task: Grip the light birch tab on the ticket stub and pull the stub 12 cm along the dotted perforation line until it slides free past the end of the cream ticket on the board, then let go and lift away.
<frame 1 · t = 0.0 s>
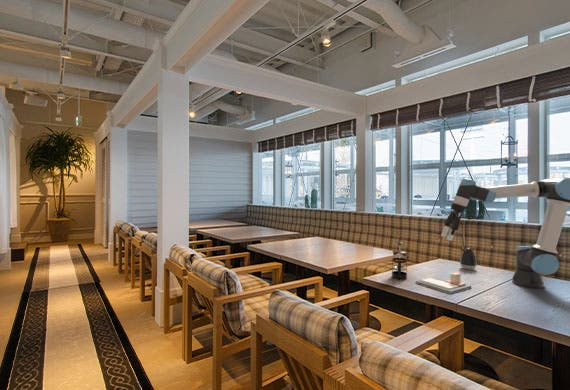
hand: (446, 238, 191), 28 cm above the table, tool tilted 20°, fingers open, 13 cm apart
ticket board: (442, 285, 190), on the table
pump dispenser: (467, 269, 228), on the table
french press: (399, 278, 206), on the table
stub: (455, 278, 189), point 5 cm above the table, slide at 0.0 cm
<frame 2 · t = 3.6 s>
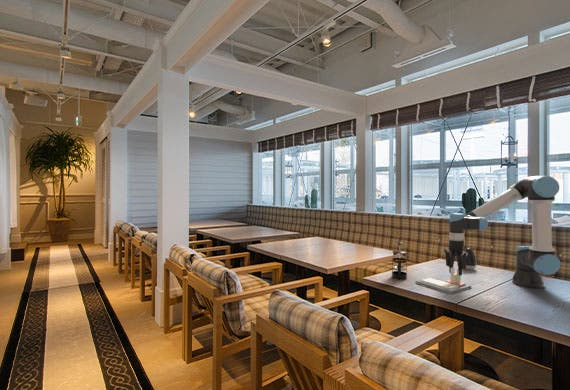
hand: (455, 279, 189), 4 cm above the table, tool pointing down, fingers closed on stub, 3 cm apart
stub: (455, 278, 189), point 5 cm above the table, slide at 0.0 cm, touching gripper
everything else where it was.
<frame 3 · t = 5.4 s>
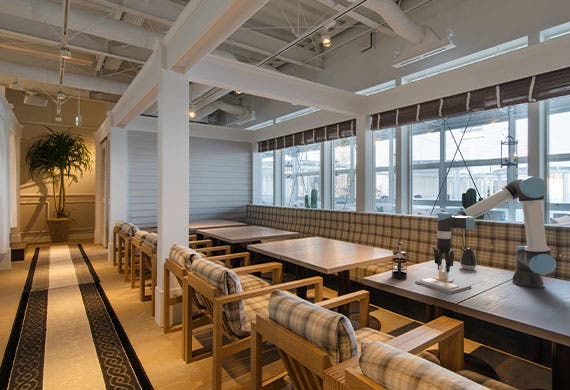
hand: (443, 276, 195), 4 cm above the table, tool pointing down, fingers closed on stub, 3 cm apart
stub: (443, 275, 195), point 5 cm above the table, slide at 7.5 cm, touching gripper
everything else where it was.
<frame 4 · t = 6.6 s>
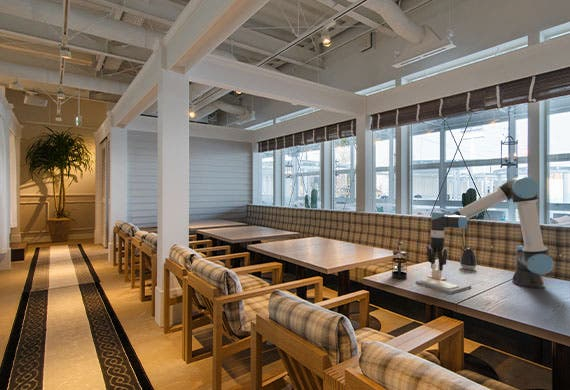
hand: (436, 274, 199), 4 cm above the table, tool pointing down, fingers closed on stub, 3 cm apart
stub: (436, 273, 199), point 5 cm above the table, slide at 11.9 cm, touching gripper
everything else where it was.
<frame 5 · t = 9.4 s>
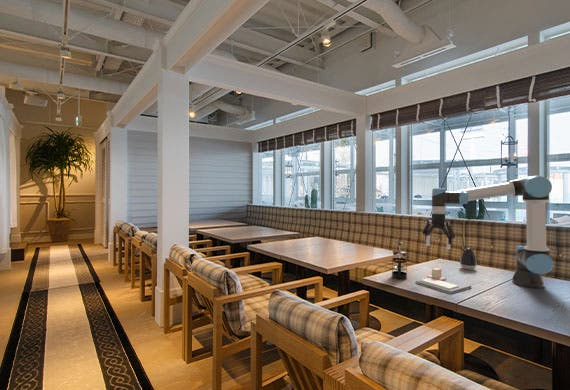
hand: (437, 247, 199), 21 cm above the table, tool pointing down, fingers open, 13 cm apart
stub: (436, 273, 199), point 5 cm above the table, slide at 11.9 cm
everything else where it was.
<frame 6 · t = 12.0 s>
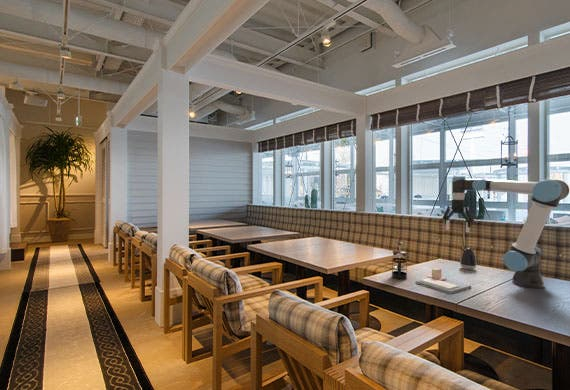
hand: (457, 231, 215), 29 cm above the table, tool pointing down, fingers open, 13 cm apart
nothing on the table moved.
at the end: stub slide at 11.9 cm; the gripper is holding nothing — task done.
